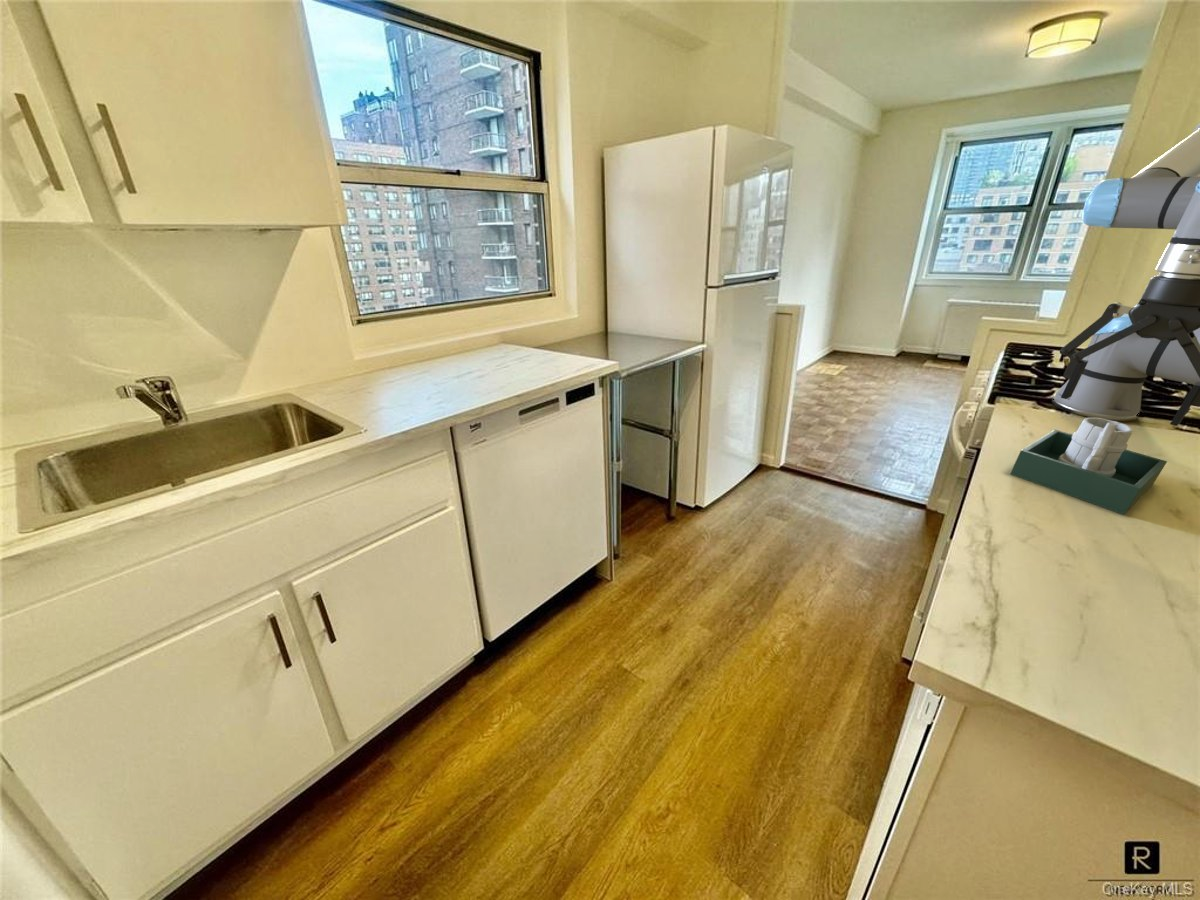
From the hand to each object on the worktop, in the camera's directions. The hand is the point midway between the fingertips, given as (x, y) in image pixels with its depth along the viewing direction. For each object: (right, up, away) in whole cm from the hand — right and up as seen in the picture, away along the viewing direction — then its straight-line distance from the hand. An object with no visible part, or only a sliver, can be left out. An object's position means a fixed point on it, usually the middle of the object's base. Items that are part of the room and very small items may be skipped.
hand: (1117, 409), depth 81 cm
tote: (0, -12, +6) cm, 14 cm away
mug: (0, -12, +6) cm, 14 cm away
